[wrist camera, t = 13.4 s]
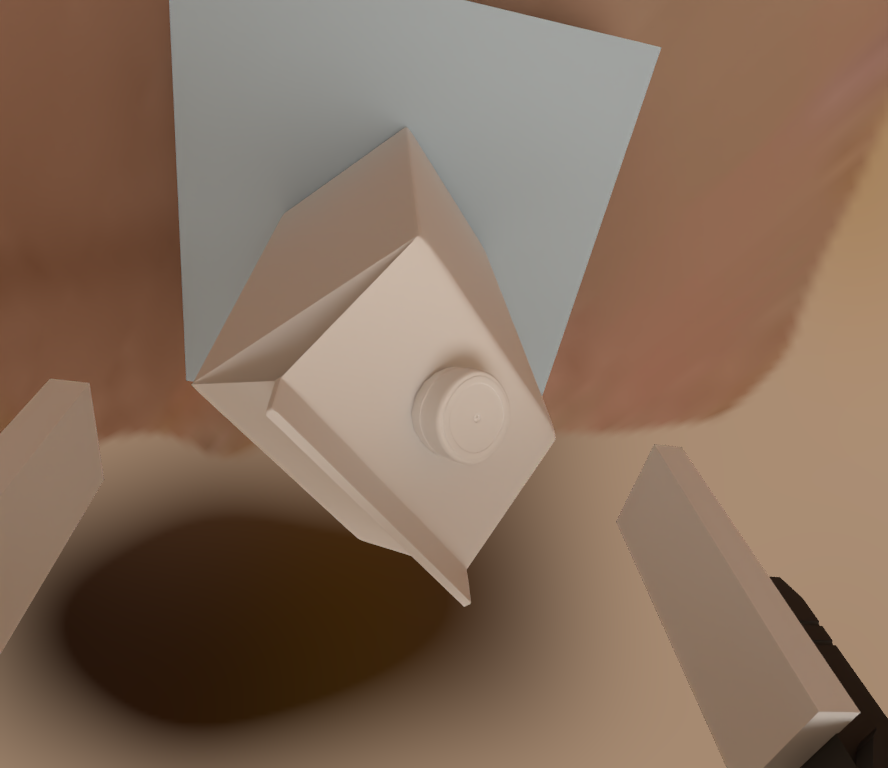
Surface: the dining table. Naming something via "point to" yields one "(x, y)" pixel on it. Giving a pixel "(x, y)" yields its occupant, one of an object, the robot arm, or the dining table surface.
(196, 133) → the grey square footed tray
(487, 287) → the milk carton
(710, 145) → the dining table surface
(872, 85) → the dining table surface
